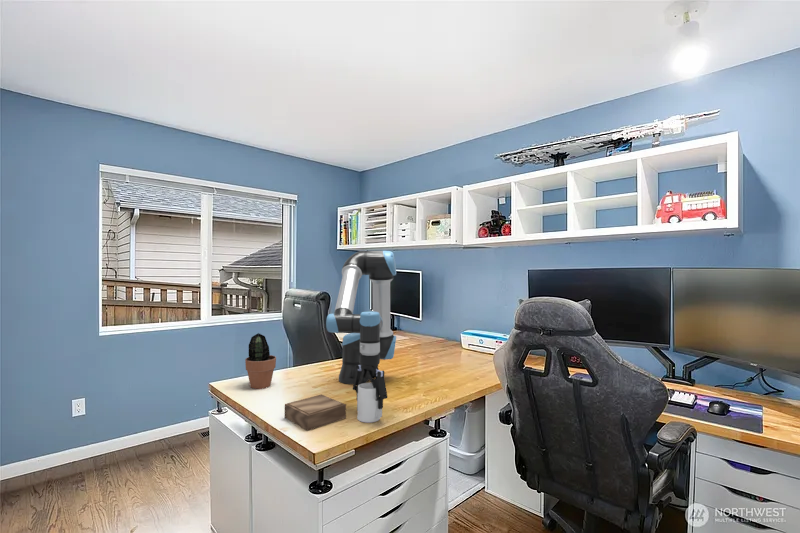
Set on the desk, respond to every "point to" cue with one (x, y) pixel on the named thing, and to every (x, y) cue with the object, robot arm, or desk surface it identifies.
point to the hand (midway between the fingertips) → (369, 413)
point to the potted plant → (259, 363)
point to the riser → (315, 411)
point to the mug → (366, 403)
